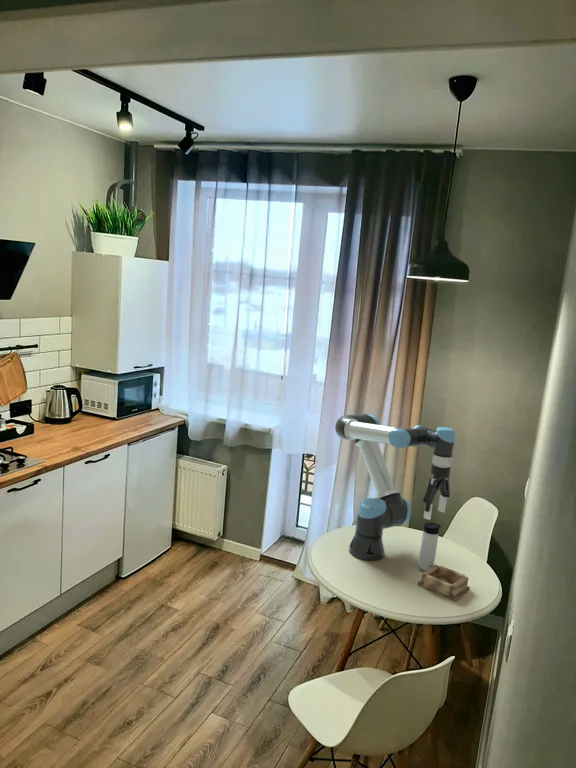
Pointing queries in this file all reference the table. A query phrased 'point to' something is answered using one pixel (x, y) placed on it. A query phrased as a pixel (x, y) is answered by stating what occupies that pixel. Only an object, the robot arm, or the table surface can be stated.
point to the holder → (445, 582)
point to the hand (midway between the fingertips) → (434, 515)
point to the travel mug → (428, 546)
